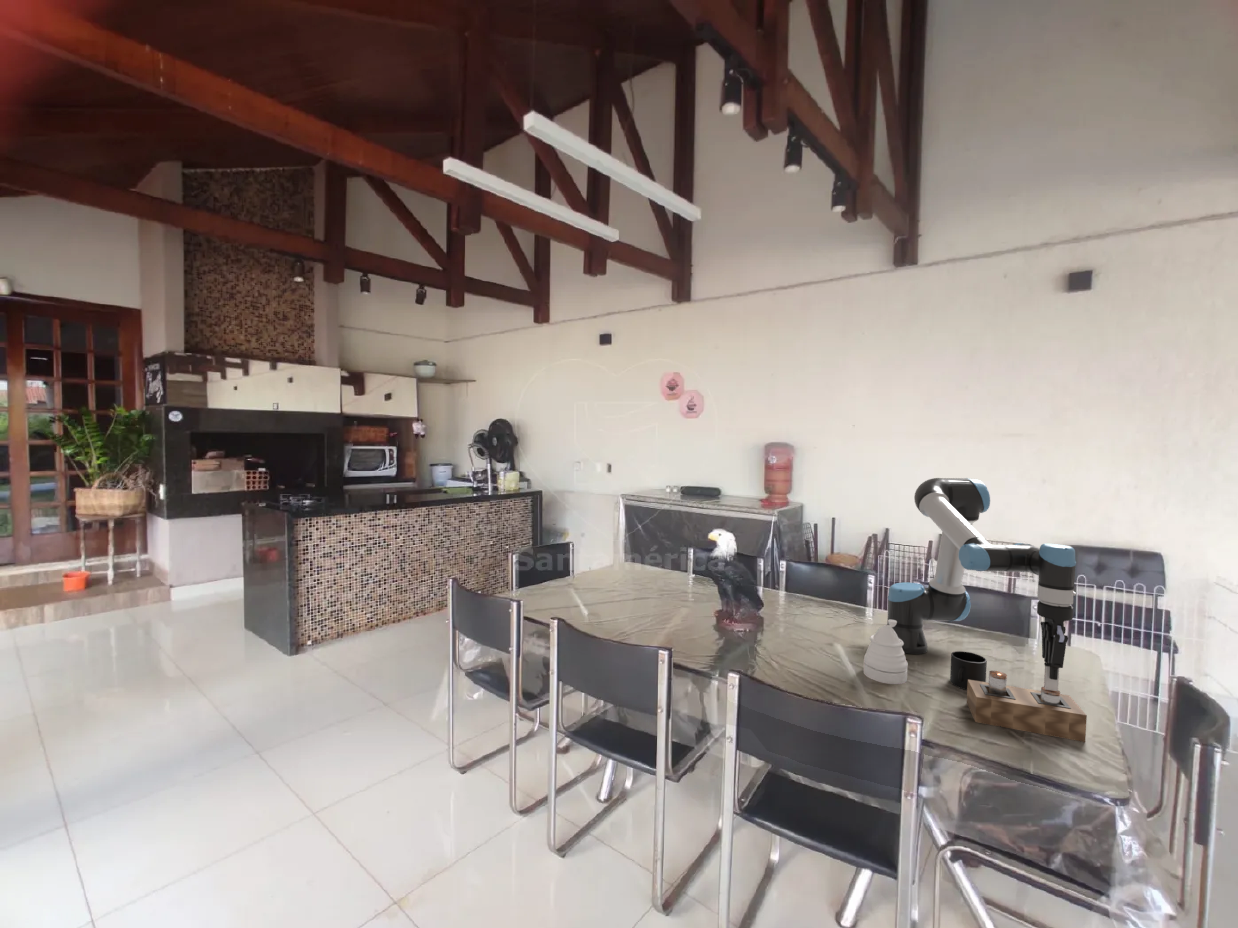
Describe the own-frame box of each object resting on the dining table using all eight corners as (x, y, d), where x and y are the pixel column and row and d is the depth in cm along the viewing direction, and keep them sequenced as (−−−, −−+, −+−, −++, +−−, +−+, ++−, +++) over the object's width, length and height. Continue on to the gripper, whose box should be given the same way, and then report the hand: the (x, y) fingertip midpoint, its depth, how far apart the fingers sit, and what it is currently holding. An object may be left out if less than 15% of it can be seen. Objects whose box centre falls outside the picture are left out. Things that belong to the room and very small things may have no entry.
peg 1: (990, 699, 152) (991, 674, 151) (986, 693, 155) (987, 669, 155) (1007, 702, 150) (1008, 677, 150) (1003, 696, 154) (1004, 671, 153)
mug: (941, 685, 172) (943, 657, 171) (956, 675, 179) (957, 648, 179) (976, 697, 164) (977, 667, 164) (989, 686, 172) (991, 657, 172)
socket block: (975, 721, 150) (976, 696, 149) (966, 702, 161) (967, 678, 160) (1085, 741, 140) (1086, 714, 140) (1068, 720, 151) (1069, 694, 151)
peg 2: (1042, 717, 147) (1043, 691, 147) (1037, 710, 151) (1039, 685, 150) (1061, 720, 145) (1062, 694, 145) (1055, 713, 149) (1057, 688, 149)
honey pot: (889, 666, 186) (891, 614, 186) (916, 682, 174) (918, 626, 173) (855, 668, 184) (857, 615, 183) (879, 685, 172) (881, 628, 171)
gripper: (1082, 611, 139) (1077, 702, 140) (1063, 598, 151) (1059, 682, 152) (1046, 607, 142) (1041, 696, 143) (1030, 594, 154) (1026, 677, 155)
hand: (1050, 689), depth 148 cm, fingers closed
